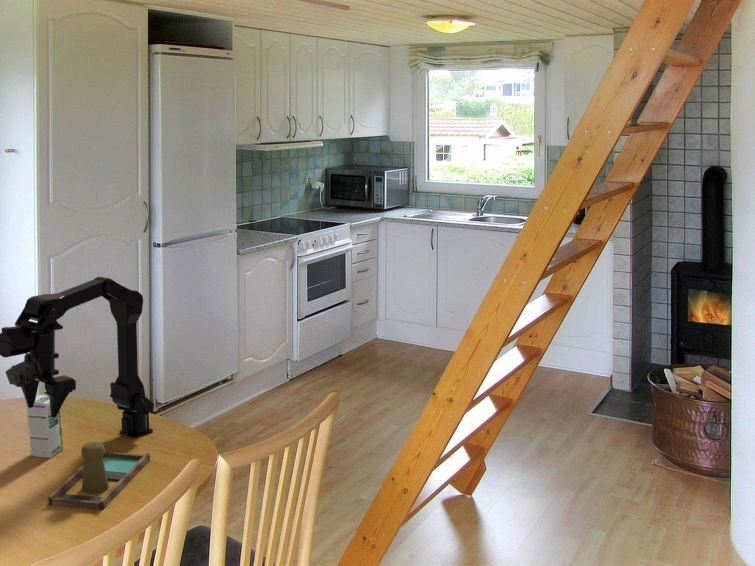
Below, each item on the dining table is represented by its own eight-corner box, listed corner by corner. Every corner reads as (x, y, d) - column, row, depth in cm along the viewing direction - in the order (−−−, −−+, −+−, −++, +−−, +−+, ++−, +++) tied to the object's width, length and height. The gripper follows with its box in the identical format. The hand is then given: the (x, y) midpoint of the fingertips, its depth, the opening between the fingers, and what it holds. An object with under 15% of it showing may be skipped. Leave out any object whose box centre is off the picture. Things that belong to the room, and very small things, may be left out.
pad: (104, 458, 225) (103, 457, 225) (143, 462, 224) (143, 460, 224) (90, 471, 218) (90, 469, 218) (131, 474, 217) (131, 473, 217)
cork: (97, 480, 213) (94, 436, 211) (114, 487, 210) (112, 443, 208) (76, 489, 209) (73, 445, 206) (93, 496, 205) (90, 451, 203)
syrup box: (51, 458, 225) (47, 403, 222) (29, 456, 226) (25, 401, 223) (63, 449, 231) (59, 395, 227) (42, 447, 232) (38, 393, 228)
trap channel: (101, 456, 226) (100, 449, 226) (149, 460, 225) (149, 453, 224) (48, 505, 201) (48, 496, 200) (102, 509, 199) (102, 501, 199)
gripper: (-12, 347, 213) (-12, 410, 216) (35, 364, 202) (35, 430, 205) (30, 339, 222) (30, 400, 225) (77, 355, 211) (77, 418, 214)
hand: (42, 412), depth 217 cm, fingers open, 9 cm apart
